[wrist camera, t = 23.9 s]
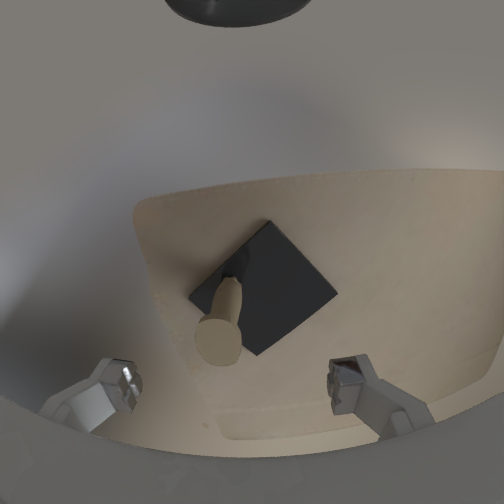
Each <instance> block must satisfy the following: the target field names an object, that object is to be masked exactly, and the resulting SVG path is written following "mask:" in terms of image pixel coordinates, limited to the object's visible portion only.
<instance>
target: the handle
mask: <svg viewBox="0 0 504 504" xmlns="http://www.w3.org/2000/svg"><path fill="white" fill-rule="evenodd" d="M241 304H242V285H241V283H239V282H238V281H237V279H236V277H231V278H228V277H225V278H224V279H223V282H222V283H221V284H220V285H219V287H218V288H217V290H216V292H215V295H214V298H213V302H212V307H211V312H210V314H208V315H205V316H204V317H202V318H201V319H200V322H199V324H198V327H197V330H196V333H195V342H196V346H197V350H198V352H199V353H200V355H201V356H202V357H203V359H204V360H205V361H206V362H207V363H209V364H211V365H215V366H229V365H232V364H234V363H236V362H237V360H238V358H239V356H240V353H241V349H242V337H241V332H240V329H239V327H238V326H237V322H238V318H239V314H240V310H241Z"/></svg>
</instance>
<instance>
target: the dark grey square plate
mask: <svg viewBox="0 0 504 504" xmlns="http://www.w3.org/2000/svg"><path fill="white" fill-rule="evenodd" d="M225 277H228V278H231V277H236V279H237V281H238V282H239V283H241V285H242V304H241V310H240V314H239V318H238V322H237V326H238V327H239V329H240V332H241V337H242V345H243V346H245V347H246V348H247V349H248V350H250V351H251V352H252V353H253V354H255V355H256V356H258V355H259V354H260V353H262V352H263V351H265V350H266V349H267V348H269V347H270V346H272V345H273V344H274V343H276V342H277V341H278V340H280V339H281V338H283V337H284V336H285V335H287V334H288V333H289V332H291V331H292V330H293V329H295V328H296V327H297V326H298V325H300V324H301V323H302V322H304V321H305V320H306V319H308V318H309V317H310V316H311V315H313V314H314V313H315V312H316V311H318V310H319V309H320V308H321V307H323V306H324V305H325V304H326V303H328V302H329V301H330V300H331V299H332V298H334V297H335V296H336V295H337V294H338V293H337V291H336V290H335V289H334V288H333V287H332V285H331V284H330V283H329V282H328V281H327V280H326V279H325V278H324V277H323V276H322V274H321V273H320V272H319V271H318V270H317V269H316V268H315V267H314V266H313V265H312V264H311V263H310V261H309V260H308V259H307V258H306V257H305V256H304V255H303V254H302V253H301V252H300V251H299V250H298V249H297V247H296V246H295V245H294V244H293V243H292V242H291V241H290V240H289V239H288V238H287V237H286V236H285V235H284V234H283V233H282V232H281V231H280V230H279V228H278V227H277V226H276V225H275V224H274V223H273V222H272V221H271V220H270V221H269V222H268V223H267V224H266V225H265V226H264V227H262V228H261V229H260V230H259V231H258V232H257V233H256V234H255V235H254V236H253V237H252V238H251V239H250V240H248V241H247V242H246V243H245V244H244V245H243V246H242V247H241V248H240V249H239V250H238V251H237V252H236V253H234V254H233V255H232V256H231V257H230V258H229V259H228V260H227V261H226V262H225V263H224V264H223V265H222V266H221V267H219V268H218V269H217V270H216V271H215V272H214V273H213V274H212V275H211V276H210V277H209V278H208V279H207V280H206V281H205V282H203V283H202V284H201V285H200V286H199V287H198V288H197V289H196V290H195V291H194V292H193V293H192V294H191V295H190V296H189V298H188V299H189V300H190V301H192V302H193V303H194V304H195V305H196V306H197V307H198V308H199V309H201V310H202V311H203V312H204V313H205V314H206V315H208V314H210V312H211V307H212V302H213V298H214V295H215V292H216V290H217V288H218V287H219V285H220V284H221V283H222V282H223V279H224V278H225Z"/></svg>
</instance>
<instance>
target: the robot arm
mask: <svg viewBox="0 0 504 504" xmlns="http://www.w3.org/2000/svg"><path fill="white" fill-rule="evenodd" d="M136 370H137V367H136V365H135V363H134V362H132V361H126V360H118V359H111V358H103V359H102V360H101V361H100V363H99V364H98V366H97V367H96V368H95V370H94V371H93V373H92V374H91V376H90V377H89V379H84V380H82V381H80V382H79V383H77V384H75V385H73V386H71V387H69V388H67V389H65V390H63V391H61V392H59V393H57V394H55V395H53V396H51V397H50V398H48V400H47V401H46V402H45V404H44V405H43V407H42V408H41V410H40V411H39V412H38V414H37V413H35V412H32V411H30V410H28V409H26V408H24V407H22V406H20V405H18V404H16V403H14V402H12V401H10V400H8V399H7V398H5V397H3V396H1V395H0V504H504V392H502V393H499V394H497V395H495V396H493V397H491V398H489V399H487V400H486V401H484V402H482V403H480V404H478V405H476V406H474V407H472V408H470V409H468V410H466V411H463V412H461V413H459V414H457V415H455V416H452V417H450V418H448V419H445V420H443V421H440V422H438V423H436V422H435V421H434V419H433V417H432V415H431V413H430V411H429V409H428V407H427V406H426V404H425V402H423V401H421V400H419V399H417V398H415V397H414V396H412V395H410V394H408V393H406V392H405V391H403V390H401V389H399V388H397V387H396V386H394V385H392V384H390V383H389V382H387V381H385V380H383V379H379V378H378V376H377V374H376V372H375V370H374V368H373V366H372V364H371V362H370V360H369V358H368V356H367V355H366V354H362V355H356V356H351V357H344V358H337V359H330V361H329V370H330V372H329V374H328V375H327V390H328V395H329V396H330V397H331V398H332V399H331V407H332V410H333V414H334V415H342V414H349V413H354V414H355V415H356V416H357V417H358V418H360V419H361V420H362V421H363V422H364V423H365V424H367V425H368V426H369V427H370V428H371V429H372V430H374V431H375V432H376V433H377V434H378V435H379V436H380V437H379V439H378V441H377V442H374V443H370V444H366V445H361V446H356V447H351V448H346V449H341V450H335V451H328V452H321V453H314V454H305V455H295V456H281V457H263V458H262V457H259V458H236V457H235V458H233V457H213V456H200V455H199V456H198V455H190V454H181V453H173V452H166V451H160V450H155V449H149V448H143V447H139V446H134V445H130V444H125V443H121V442H117V441H113V440H110V439H105V438H102V437H99V436H95V435H92V434H90V431H92V430H93V429H94V428H95V427H97V426H98V425H99V424H100V423H102V422H103V421H104V420H105V419H107V418H108V417H109V416H111V415H112V414H113V413H114V412H115V411H116V410H117V411H123V412H129V413H132V412H133V409H134V408H135V405H136V403H137V402H136V399H135V398H137V397H138V396H140V394H141V392H142V386H143V384H142V379H141V377H140V375H139V374H138V373H136Z"/></svg>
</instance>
